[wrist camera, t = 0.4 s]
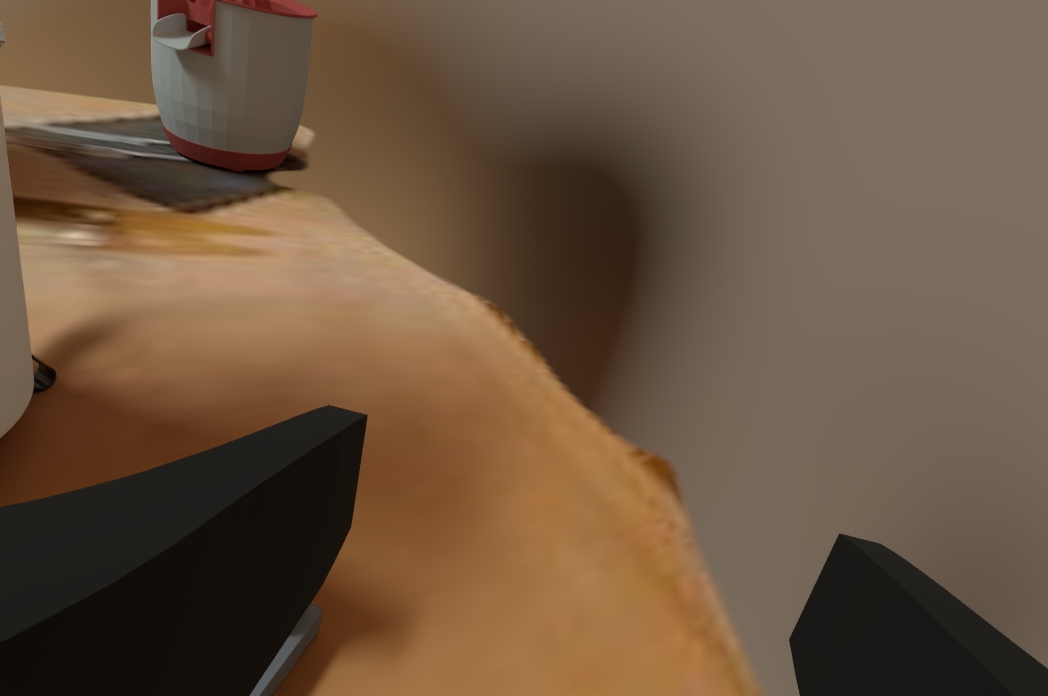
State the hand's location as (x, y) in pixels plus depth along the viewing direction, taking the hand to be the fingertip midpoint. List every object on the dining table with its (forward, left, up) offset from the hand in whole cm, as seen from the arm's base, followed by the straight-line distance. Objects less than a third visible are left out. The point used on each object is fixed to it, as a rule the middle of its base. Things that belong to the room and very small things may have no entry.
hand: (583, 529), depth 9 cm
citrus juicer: (+53, +49, -20) cm, 75 cm away
